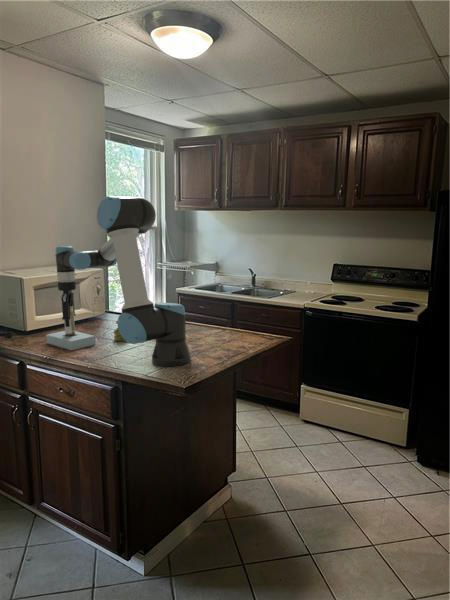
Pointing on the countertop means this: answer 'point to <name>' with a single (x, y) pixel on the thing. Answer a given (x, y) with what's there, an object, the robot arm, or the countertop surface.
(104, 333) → the countertop surface
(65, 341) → the slate board
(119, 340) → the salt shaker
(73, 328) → the beech peg
